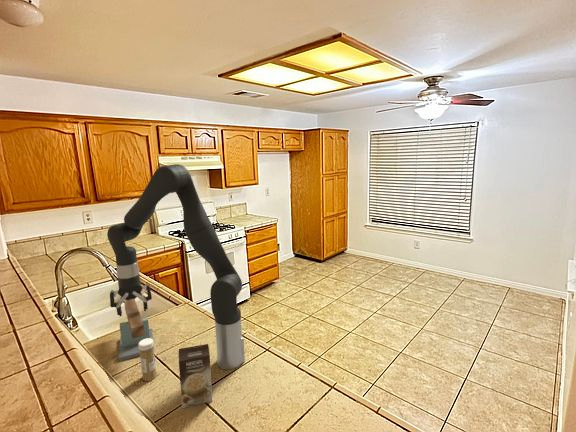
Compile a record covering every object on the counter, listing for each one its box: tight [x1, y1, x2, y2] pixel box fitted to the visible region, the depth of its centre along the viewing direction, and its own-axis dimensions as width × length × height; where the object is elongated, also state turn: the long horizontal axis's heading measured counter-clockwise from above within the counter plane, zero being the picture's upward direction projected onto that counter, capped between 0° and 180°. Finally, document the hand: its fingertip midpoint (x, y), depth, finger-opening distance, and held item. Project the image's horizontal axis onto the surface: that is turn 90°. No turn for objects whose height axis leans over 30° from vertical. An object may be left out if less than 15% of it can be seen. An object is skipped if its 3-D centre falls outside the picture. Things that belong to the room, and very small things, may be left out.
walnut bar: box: [123, 299, 145, 338], centre depth 118 cm, size 4×26×4 cm, turn 34°
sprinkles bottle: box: [138, 338, 157, 382], centre depth 101 cm, size 5×5×13 cm
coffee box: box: [178, 343, 213, 409], centre depth 92 cm, size 9×6×16 cm
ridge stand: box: [117, 316, 155, 362], centre depth 119 cm, size 12×16×10 cm
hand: (133, 312), depth 117 cm, fingers open, 8 cm apart
